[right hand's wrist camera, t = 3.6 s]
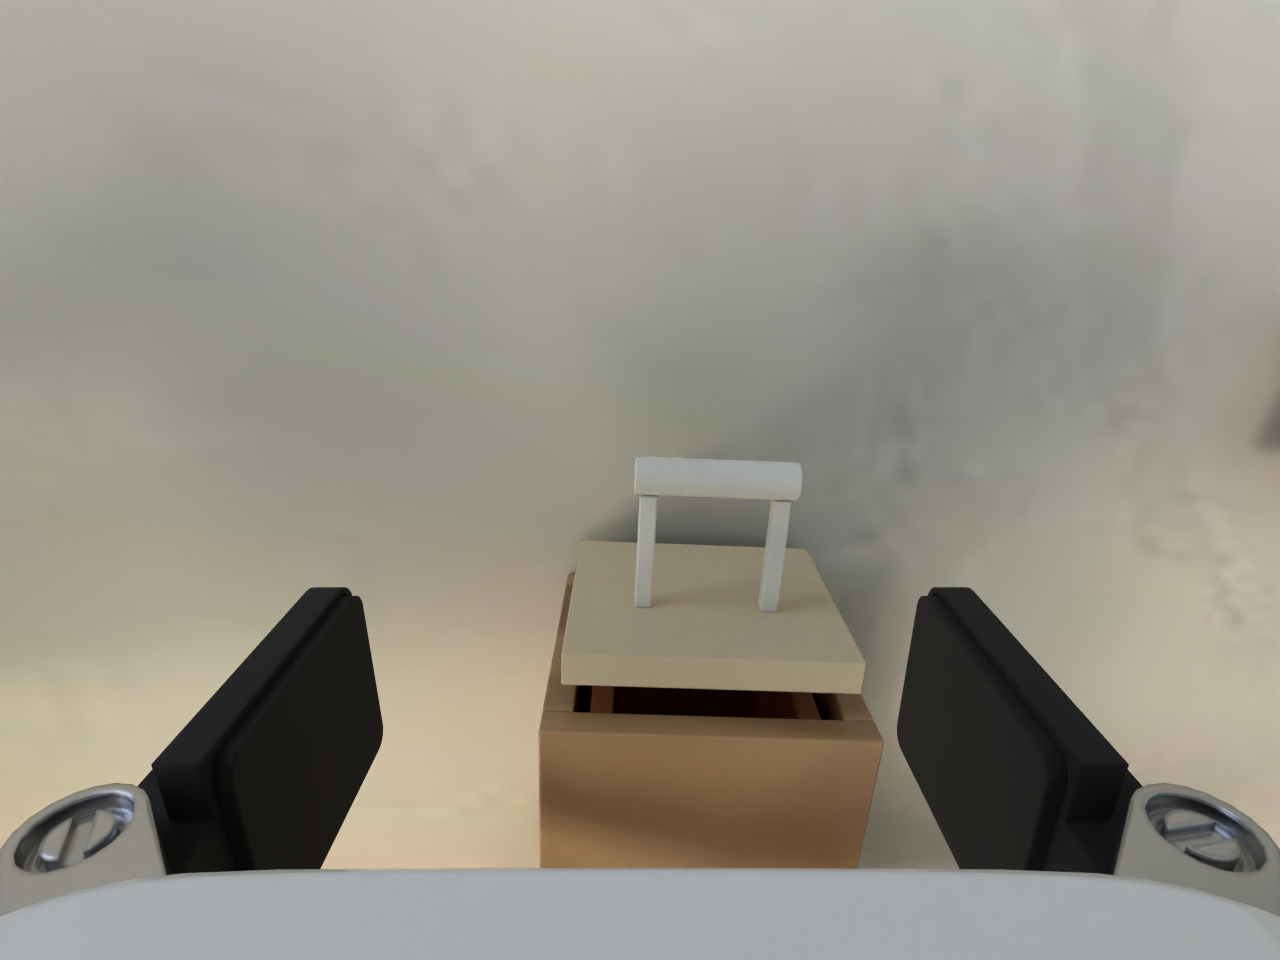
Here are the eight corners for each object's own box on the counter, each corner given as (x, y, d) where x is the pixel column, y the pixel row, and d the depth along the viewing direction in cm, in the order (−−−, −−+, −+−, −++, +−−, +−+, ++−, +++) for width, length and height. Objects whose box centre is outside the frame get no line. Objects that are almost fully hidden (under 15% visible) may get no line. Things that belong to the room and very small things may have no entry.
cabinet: (568, 573, 31) (538, 731, 21) (808, 582, 31) (885, 742, 22) (565, 867, 37) (542, 1090, 28) (764, 873, 38) (809, 1095, 28)
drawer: (582, 414, 27) (561, 490, 20) (824, 424, 27) (898, 503, 20) (575, 835, 35) (559, 1007, 27) (764, 840, 35) (800, 1012, 28)
